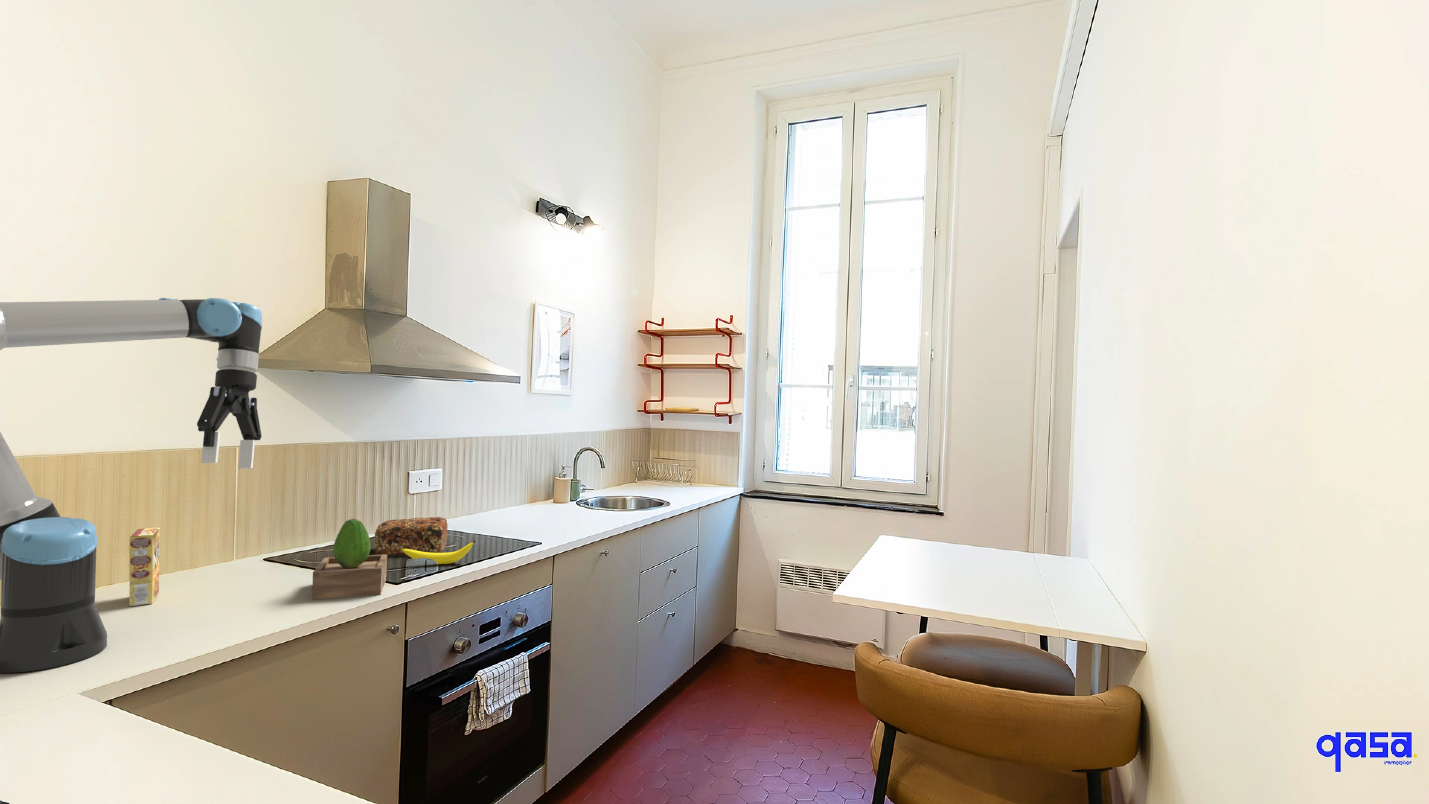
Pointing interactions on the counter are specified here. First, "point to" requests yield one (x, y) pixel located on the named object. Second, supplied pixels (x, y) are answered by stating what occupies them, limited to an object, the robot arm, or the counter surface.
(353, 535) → the avocado
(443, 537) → the bread
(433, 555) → the banana
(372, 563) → the walnut wooden box
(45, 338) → the robot arm
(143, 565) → the candy box
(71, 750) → the counter surface
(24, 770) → the counter surface
